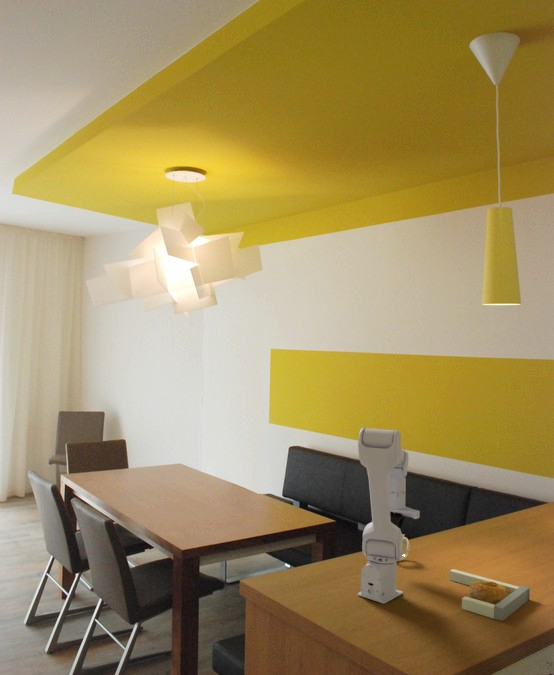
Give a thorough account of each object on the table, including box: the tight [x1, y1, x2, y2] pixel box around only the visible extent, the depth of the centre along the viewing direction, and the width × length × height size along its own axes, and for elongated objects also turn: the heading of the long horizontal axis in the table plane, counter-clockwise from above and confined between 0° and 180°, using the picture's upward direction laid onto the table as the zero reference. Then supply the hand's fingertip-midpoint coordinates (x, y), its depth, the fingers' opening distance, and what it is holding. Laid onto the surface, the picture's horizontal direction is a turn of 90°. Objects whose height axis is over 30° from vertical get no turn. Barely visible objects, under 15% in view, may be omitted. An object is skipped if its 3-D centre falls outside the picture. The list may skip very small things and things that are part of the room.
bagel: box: [468, 581, 511, 605], centre depth 156 cm, size 10×11×5 cm
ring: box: [397, 533, 411, 562], centre depth 185 cm, size 7×3×8 cm, turn 116°
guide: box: [448, 568, 531, 622], centre depth 158 cm, size 18×21×3 cm
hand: (394, 539), depth 175 cm, fingers closed
